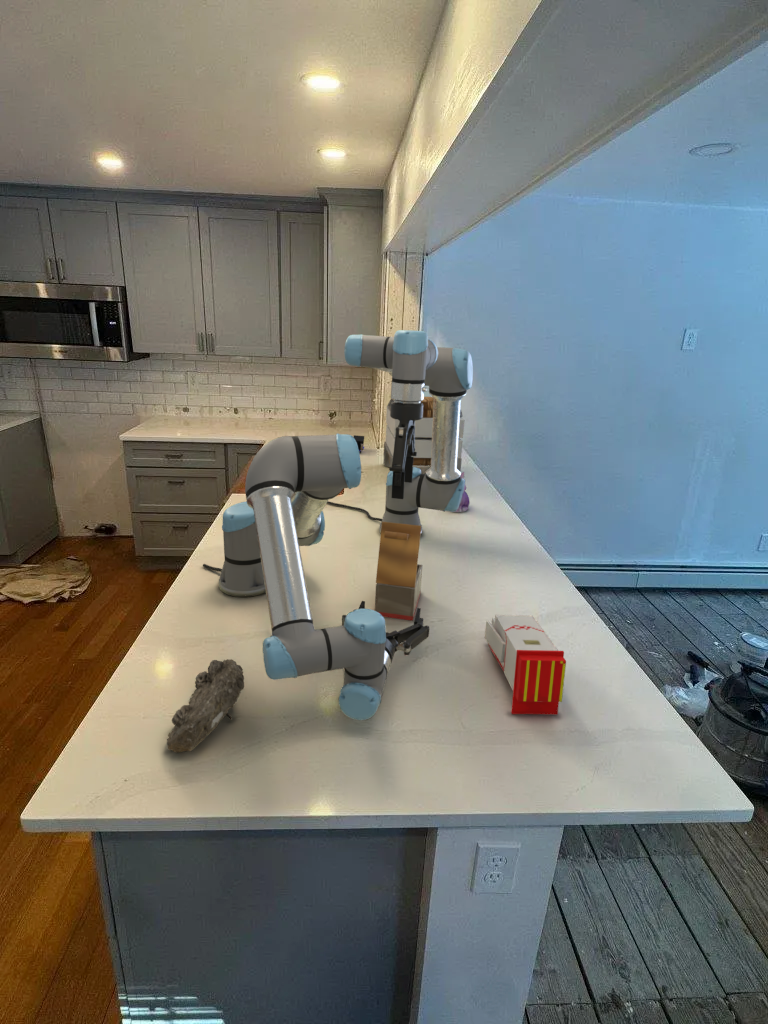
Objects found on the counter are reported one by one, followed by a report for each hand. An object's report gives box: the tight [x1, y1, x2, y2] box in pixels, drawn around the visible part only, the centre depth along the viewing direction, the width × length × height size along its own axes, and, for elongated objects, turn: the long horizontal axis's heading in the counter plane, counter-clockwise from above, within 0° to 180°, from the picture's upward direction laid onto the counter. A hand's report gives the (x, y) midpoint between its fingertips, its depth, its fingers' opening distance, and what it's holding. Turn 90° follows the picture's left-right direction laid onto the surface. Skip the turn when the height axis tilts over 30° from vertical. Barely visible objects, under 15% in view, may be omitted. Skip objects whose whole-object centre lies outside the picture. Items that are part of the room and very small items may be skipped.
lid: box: [375, 521, 422, 588], centre depth 138 cm, size 16×10×8 cm
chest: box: [374, 563, 423, 622], centre depth 151 cm, size 15×10×9 cm, turn 169°
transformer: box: [383, 396, 465, 473], centre depth 268 cm, size 34×33×41 cm
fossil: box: [166, 658, 245, 754], centre depth 106 cm, size 22×10×15 cm
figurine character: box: [353, 435, 365, 454], centre depth 310 cm, size 7×8×15 cm
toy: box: [484, 614, 567, 716], centre depth 124 cm, size 12×13×30 cm
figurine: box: [453, 471, 470, 513], centre depth 225 cm, size 9×10×15 cm
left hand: (390, 609), depth 137 cm, fingers open, 13 cm apart
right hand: (402, 489), depth 137 cm, fingers open, 13 cm apart
